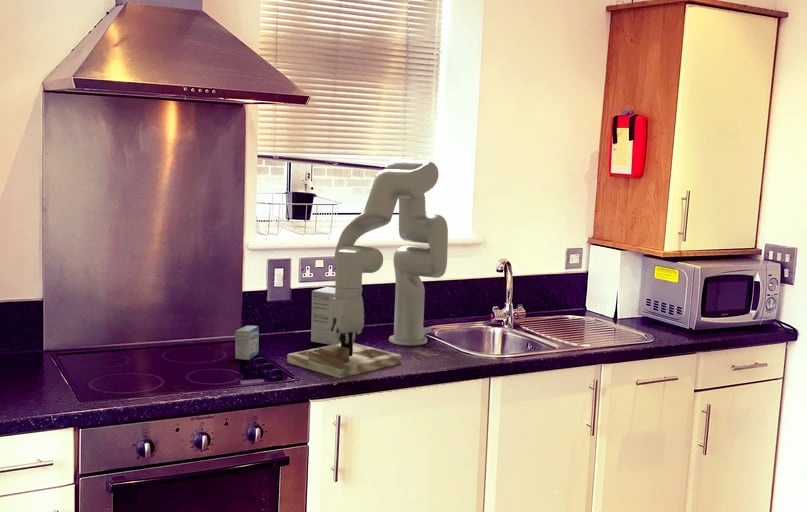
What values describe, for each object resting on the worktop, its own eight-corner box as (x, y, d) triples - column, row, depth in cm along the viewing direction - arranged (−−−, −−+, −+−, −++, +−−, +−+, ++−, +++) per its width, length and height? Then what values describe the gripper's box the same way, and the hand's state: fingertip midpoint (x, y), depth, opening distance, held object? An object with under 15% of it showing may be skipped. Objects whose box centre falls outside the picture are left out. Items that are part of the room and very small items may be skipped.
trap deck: (348, 349, 276) (348, 333, 275) (400, 363, 261) (401, 346, 261) (287, 362, 257) (287, 345, 257) (340, 378, 243) (340, 360, 242)
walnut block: (333, 358, 254) (334, 344, 254) (348, 362, 250) (349, 348, 250) (318, 361, 250) (319, 348, 249) (334, 365, 246) (334, 351, 245)
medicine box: (249, 360, 258) (249, 331, 257) (234, 359, 259) (235, 330, 258) (258, 354, 266) (259, 326, 265) (244, 352, 267) (245, 324, 266)
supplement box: (325, 336, 293) (327, 286, 290) (349, 340, 288) (351, 289, 286) (309, 341, 284) (311, 290, 282) (334, 345, 280) (335, 293, 278)
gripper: (357, 288, 259) (355, 349, 262) (320, 293, 248) (318, 357, 251) (375, 291, 254) (374, 353, 257) (338, 297, 243) (337, 362, 246)
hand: (346, 355), depth 254 cm, fingers closed
